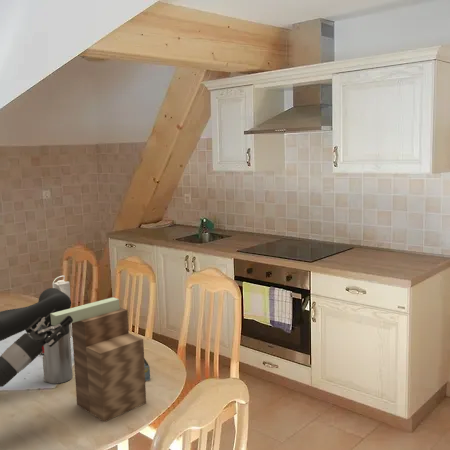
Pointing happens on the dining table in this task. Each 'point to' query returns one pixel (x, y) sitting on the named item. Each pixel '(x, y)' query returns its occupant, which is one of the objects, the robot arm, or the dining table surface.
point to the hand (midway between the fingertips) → (64, 314)
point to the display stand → (108, 365)
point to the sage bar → (86, 311)
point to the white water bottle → (65, 289)
